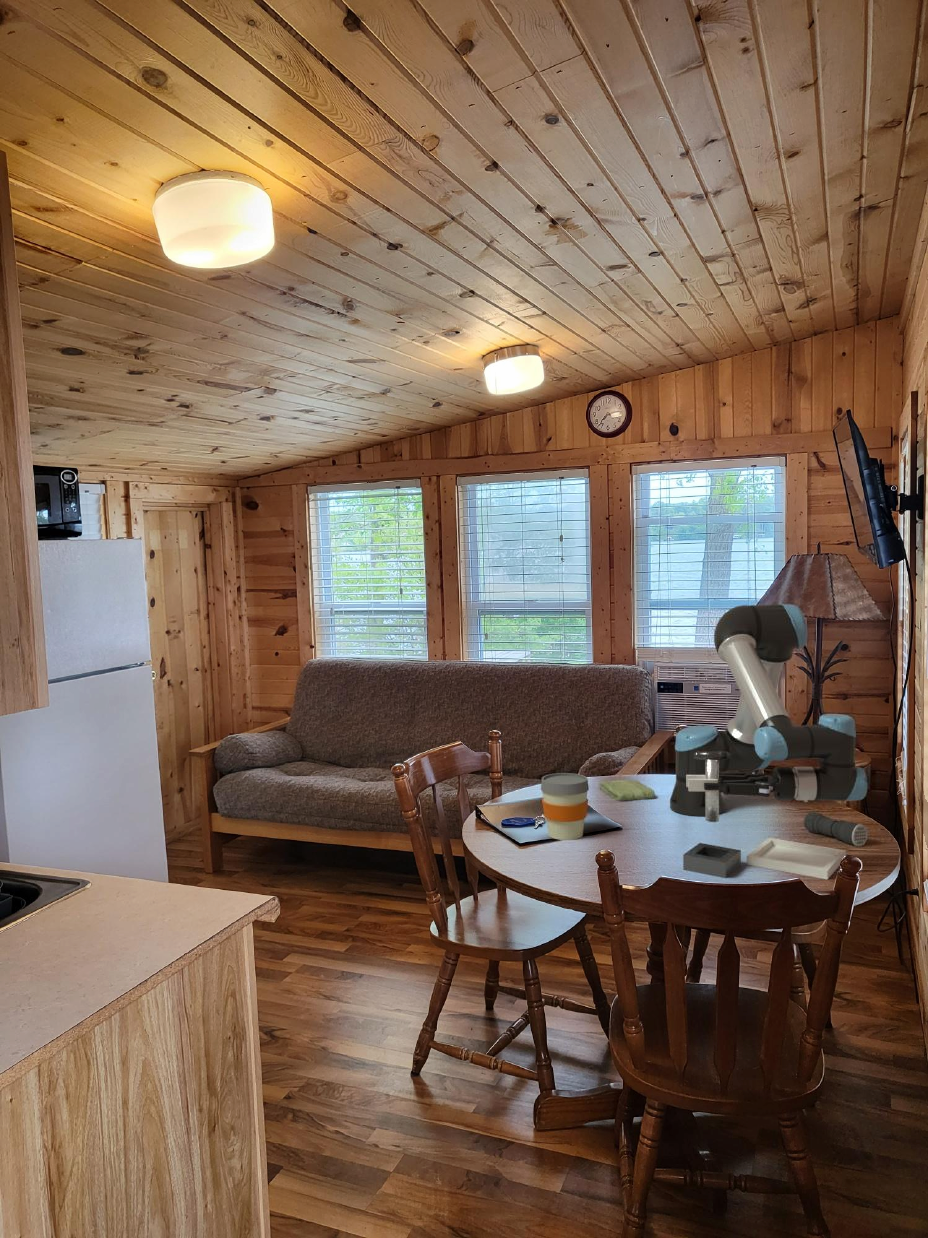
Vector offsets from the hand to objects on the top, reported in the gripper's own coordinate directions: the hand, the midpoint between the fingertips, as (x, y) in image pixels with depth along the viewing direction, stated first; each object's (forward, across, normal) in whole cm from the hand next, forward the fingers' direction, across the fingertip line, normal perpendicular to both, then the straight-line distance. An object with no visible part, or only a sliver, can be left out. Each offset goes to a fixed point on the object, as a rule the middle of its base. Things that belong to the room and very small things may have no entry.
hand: (687, 783), depth 202 cm
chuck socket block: (-5, 0, -20) cm, 21 cm away
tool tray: (-25, +5, -20) cm, 33 cm away
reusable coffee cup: (+29, +23, -20) cm, 42 cm away
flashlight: (-39, +23, -20) cm, 50 cm away
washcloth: (+10, +64, -21) cm, 69 cm away
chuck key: (-5, 0, -9) cm, 10 cm away
